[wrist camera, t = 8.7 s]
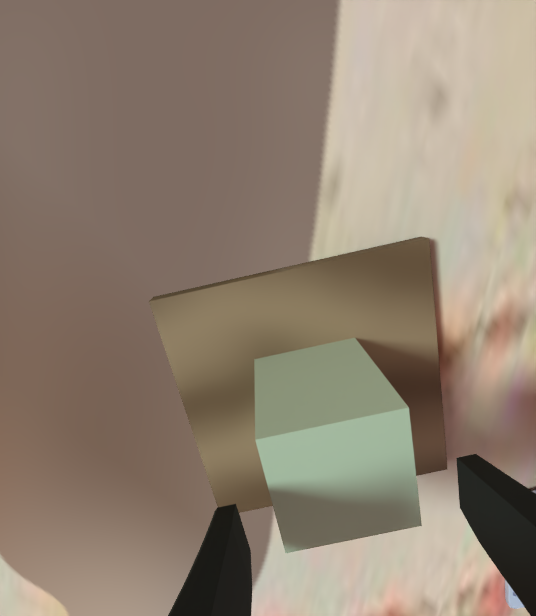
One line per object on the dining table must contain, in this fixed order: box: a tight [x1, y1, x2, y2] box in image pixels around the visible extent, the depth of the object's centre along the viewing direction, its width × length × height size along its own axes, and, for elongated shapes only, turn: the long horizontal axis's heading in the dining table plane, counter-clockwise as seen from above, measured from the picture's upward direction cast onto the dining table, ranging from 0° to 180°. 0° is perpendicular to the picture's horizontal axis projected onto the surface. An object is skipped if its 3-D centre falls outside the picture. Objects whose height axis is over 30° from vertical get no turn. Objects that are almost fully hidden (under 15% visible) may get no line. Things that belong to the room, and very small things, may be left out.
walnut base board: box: [149, 237, 447, 513], centre depth 18 cm, size 13×13×1 cm
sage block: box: [254, 338, 422, 553], centre depth 15 cm, size 5×5×6 cm
